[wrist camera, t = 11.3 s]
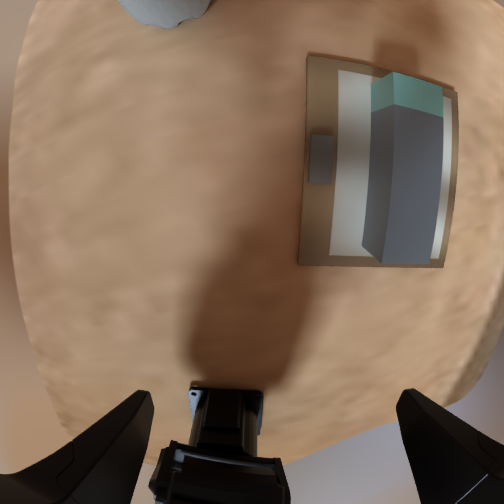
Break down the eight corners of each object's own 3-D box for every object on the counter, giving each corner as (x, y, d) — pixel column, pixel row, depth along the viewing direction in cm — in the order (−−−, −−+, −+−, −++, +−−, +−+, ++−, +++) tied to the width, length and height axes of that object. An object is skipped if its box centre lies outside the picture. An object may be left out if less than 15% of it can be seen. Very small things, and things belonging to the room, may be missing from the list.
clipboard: (440, 265, 20) (447, 270, 19) (297, 262, 20) (299, 268, 19) (453, 93, 16) (461, 91, 15) (306, 58, 16) (309, 52, 15)
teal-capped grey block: (404, 247, 19) (429, 264, 16) (361, 246, 19) (381, 263, 15) (414, 95, 16) (442, 86, 12) (370, 84, 16) (393, 71, 12)
